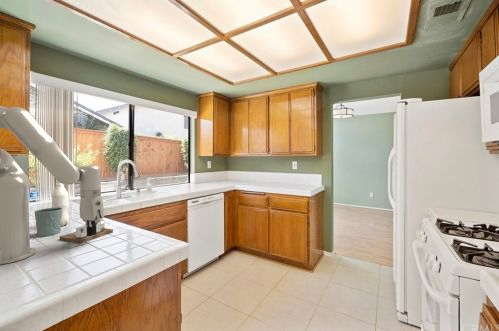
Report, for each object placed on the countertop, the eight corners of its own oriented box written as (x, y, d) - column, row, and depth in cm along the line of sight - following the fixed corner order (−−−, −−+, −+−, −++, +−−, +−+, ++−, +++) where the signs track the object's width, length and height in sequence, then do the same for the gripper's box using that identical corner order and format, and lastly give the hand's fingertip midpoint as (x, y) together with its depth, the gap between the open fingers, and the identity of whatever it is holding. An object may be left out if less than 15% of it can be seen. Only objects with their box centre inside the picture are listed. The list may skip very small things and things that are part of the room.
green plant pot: (29, 236, 107) (28, 211, 106) (53, 229, 117) (52, 206, 116) (46, 238, 104) (45, 212, 104) (68, 231, 114) (67, 207, 114)
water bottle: (59, 227, 120) (58, 181, 119) (48, 227, 121) (47, 180, 121) (72, 223, 127) (71, 179, 126) (62, 223, 128) (61, 179, 128)
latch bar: (101, 228, 111) (100, 218, 111) (106, 229, 110) (106, 218, 110) (75, 236, 100) (75, 225, 100) (81, 237, 99) (81, 225, 99)
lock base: (81, 243, 98) (80, 229, 97) (59, 239, 102) (59, 226, 102) (113, 232, 112) (112, 220, 112) (92, 229, 117) (92, 218, 116)
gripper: (110, 193, 99) (111, 234, 100) (89, 191, 105) (89, 230, 106) (92, 196, 92) (93, 240, 93) (70, 193, 98) (71, 235, 99)
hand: (91, 234), depth 99 cm, fingers closed
